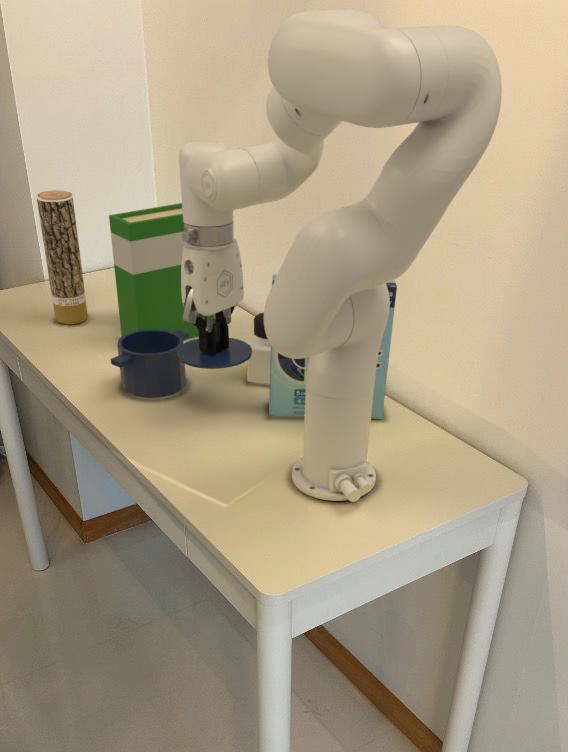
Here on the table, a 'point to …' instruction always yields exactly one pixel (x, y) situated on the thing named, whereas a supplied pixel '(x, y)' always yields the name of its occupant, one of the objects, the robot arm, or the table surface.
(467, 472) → the table surface
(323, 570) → the table surface
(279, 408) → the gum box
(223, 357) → the lid
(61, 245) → the paper tube
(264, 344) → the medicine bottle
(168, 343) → the pot
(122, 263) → the hardback book
